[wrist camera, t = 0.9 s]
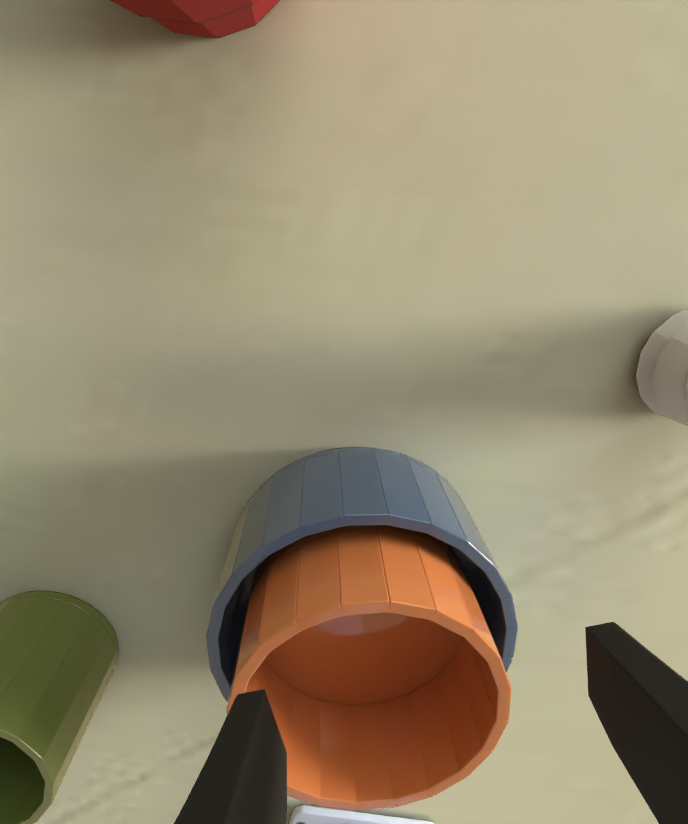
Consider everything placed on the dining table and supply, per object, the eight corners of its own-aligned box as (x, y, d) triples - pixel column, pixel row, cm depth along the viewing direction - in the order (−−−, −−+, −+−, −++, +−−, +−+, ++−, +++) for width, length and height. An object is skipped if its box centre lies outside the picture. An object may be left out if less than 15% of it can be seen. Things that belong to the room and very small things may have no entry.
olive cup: (111, 700, 24) (47, 846, 18) (-19, 681, 23) (-127, 827, 18) (125, 603, 22) (58, 733, 16) (-15, 579, 21) (-136, 706, 16)
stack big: (430, 667, 24) (457, 774, 19) (212, 629, 23) (184, 735, 18) (510, 477, 21) (565, 551, 16) (259, 420, 19) (240, 482, 15)
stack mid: (416, 645, 24) (456, 824, 16) (241, 615, 22) (205, 792, 15) (476, 495, 21) (555, 631, 14) (281, 452, 20) (259, 576, 13)
